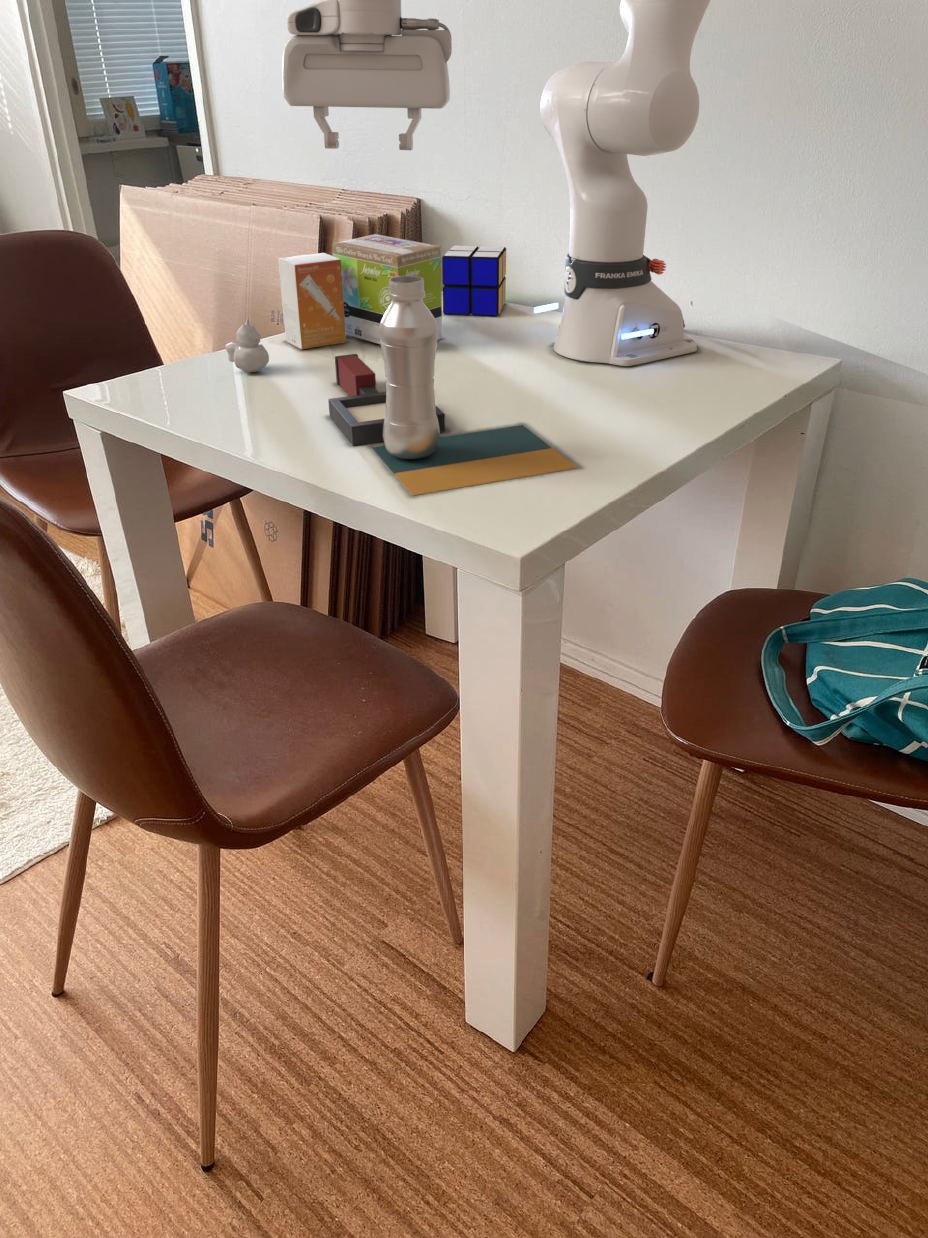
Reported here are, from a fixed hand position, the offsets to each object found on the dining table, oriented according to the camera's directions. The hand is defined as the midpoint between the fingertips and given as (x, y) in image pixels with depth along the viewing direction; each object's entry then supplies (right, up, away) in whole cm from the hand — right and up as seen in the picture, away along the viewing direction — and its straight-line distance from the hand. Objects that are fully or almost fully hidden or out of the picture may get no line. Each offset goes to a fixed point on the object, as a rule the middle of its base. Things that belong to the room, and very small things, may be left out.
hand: (368, 148), depth 117 cm
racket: (0, -31, +8) cm, 32 cm away
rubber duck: (-20, -22, +22) cm, 37 cm away
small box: (-12, -14, +35) cm, 40 cm away
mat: (+13, -40, -7) cm, 42 cm away
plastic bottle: (+6, -40, -6) cm, 41 cm away
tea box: (0, -13, +37) cm, 39 cm away
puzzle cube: (+14, -3, +53) cm, 55 cm away
